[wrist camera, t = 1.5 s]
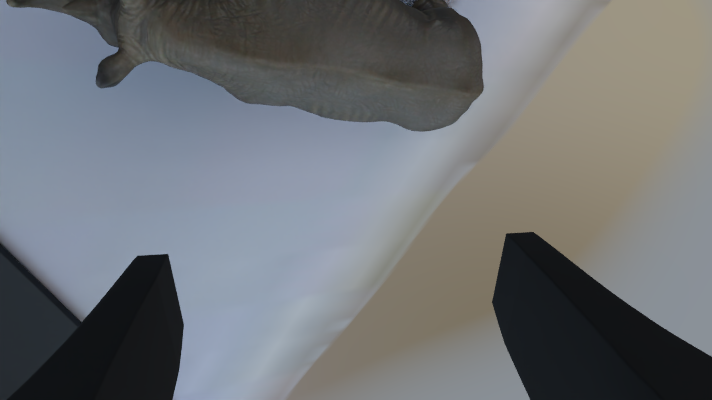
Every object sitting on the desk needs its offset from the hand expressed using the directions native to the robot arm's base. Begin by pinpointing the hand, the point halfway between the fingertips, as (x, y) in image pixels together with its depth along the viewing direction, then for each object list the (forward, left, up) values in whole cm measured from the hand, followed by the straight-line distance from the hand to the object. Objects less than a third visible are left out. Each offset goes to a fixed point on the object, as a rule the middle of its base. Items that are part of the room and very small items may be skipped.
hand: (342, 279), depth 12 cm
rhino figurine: (-3, +1, -11) cm, 11 cm away
